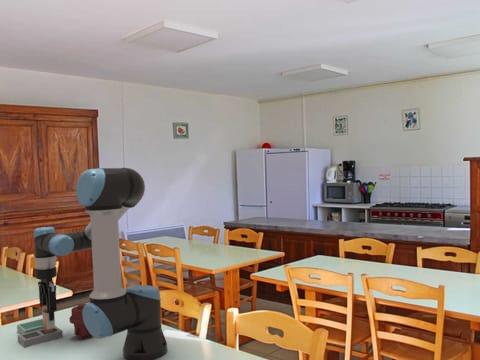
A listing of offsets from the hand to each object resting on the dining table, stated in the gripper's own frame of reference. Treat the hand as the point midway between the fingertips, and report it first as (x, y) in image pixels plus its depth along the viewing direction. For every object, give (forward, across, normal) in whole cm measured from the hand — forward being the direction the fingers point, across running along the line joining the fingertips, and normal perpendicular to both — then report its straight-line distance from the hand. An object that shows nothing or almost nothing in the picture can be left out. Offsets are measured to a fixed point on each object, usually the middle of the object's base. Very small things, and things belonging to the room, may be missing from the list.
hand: (48, 326), depth 176 cm
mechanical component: (+4, -10, -10) cm, 14 cm away
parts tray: (+4, +11, +2) cm, 12 cm away
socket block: (+4, 0, +3) cm, 5 cm away
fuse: (+4, 0, 0) cm, 4 cm away
